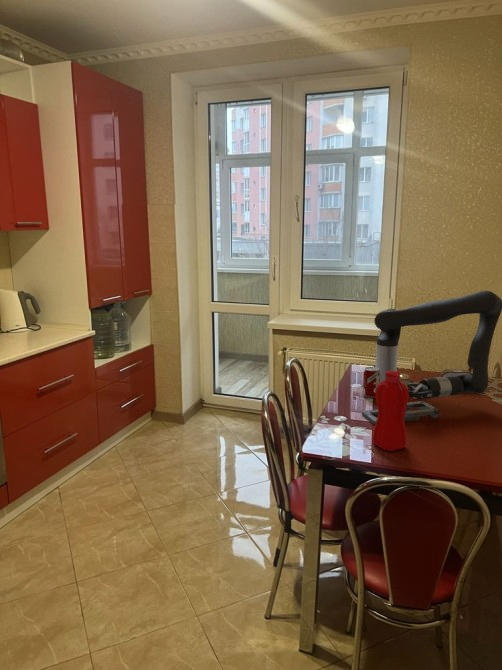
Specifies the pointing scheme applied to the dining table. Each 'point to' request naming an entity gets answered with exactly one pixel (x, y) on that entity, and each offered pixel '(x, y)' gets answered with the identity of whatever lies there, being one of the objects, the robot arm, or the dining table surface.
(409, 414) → the grey ladder frame
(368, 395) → the soda can
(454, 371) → the tin
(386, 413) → the water bottle
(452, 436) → the dining table surface
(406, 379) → the pin
